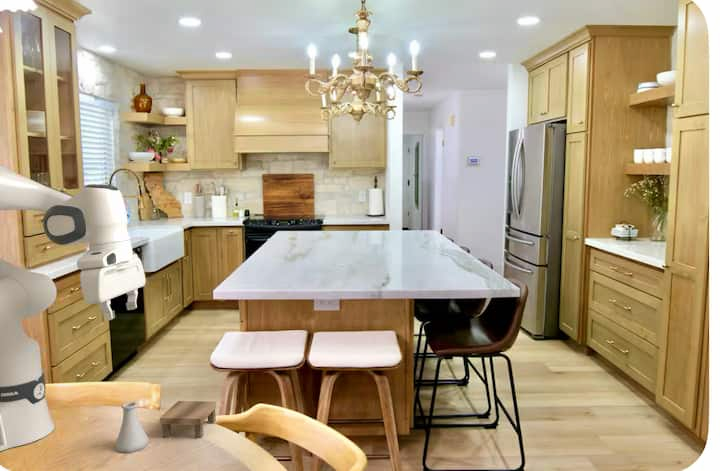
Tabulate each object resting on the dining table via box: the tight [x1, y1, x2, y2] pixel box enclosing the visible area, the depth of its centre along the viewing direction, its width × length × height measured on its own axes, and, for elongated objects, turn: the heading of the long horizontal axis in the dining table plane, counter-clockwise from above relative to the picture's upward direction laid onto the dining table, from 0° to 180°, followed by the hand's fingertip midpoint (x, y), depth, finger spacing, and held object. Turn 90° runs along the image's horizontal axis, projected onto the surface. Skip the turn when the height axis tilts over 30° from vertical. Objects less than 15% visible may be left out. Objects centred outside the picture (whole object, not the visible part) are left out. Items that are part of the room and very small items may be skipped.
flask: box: [114, 401, 151, 454], centre depth 127 cm, size 7×7×10 cm
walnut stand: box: [159, 400, 217, 439], centre depth 135 cm, size 10×10×5 cm
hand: (121, 314), depth 126 cm, fingers open, 8 cm apart
